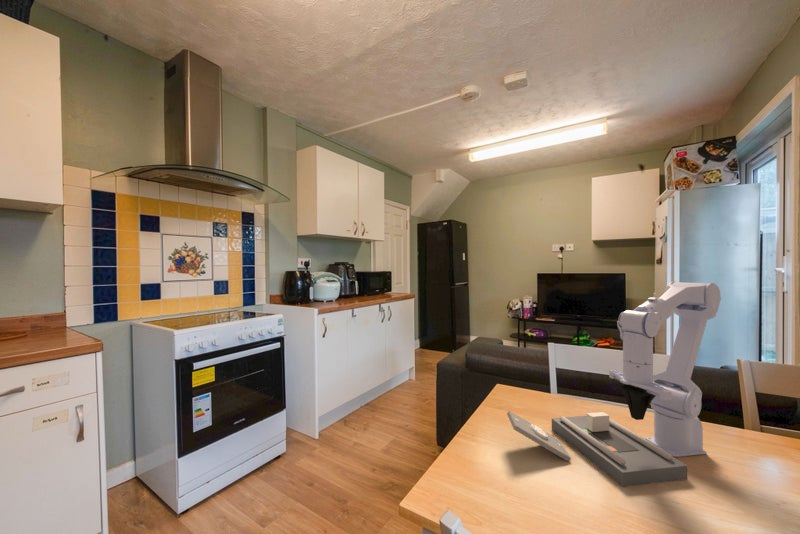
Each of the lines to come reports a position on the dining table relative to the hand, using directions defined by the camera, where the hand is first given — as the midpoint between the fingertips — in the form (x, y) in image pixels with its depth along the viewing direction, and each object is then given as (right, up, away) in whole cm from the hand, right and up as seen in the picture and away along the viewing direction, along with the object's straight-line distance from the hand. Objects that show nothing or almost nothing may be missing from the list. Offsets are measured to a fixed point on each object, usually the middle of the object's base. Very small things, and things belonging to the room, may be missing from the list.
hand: (637, 418), depth 74 cm
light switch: (-22, -11, +5) cm, 25 cm away
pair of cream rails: (-3, -7, +5) cm, 10 cm away
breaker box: (-3, -10, +5) cm, 12 cm away
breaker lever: (-4, -7, +9) cm, 12 cm away
